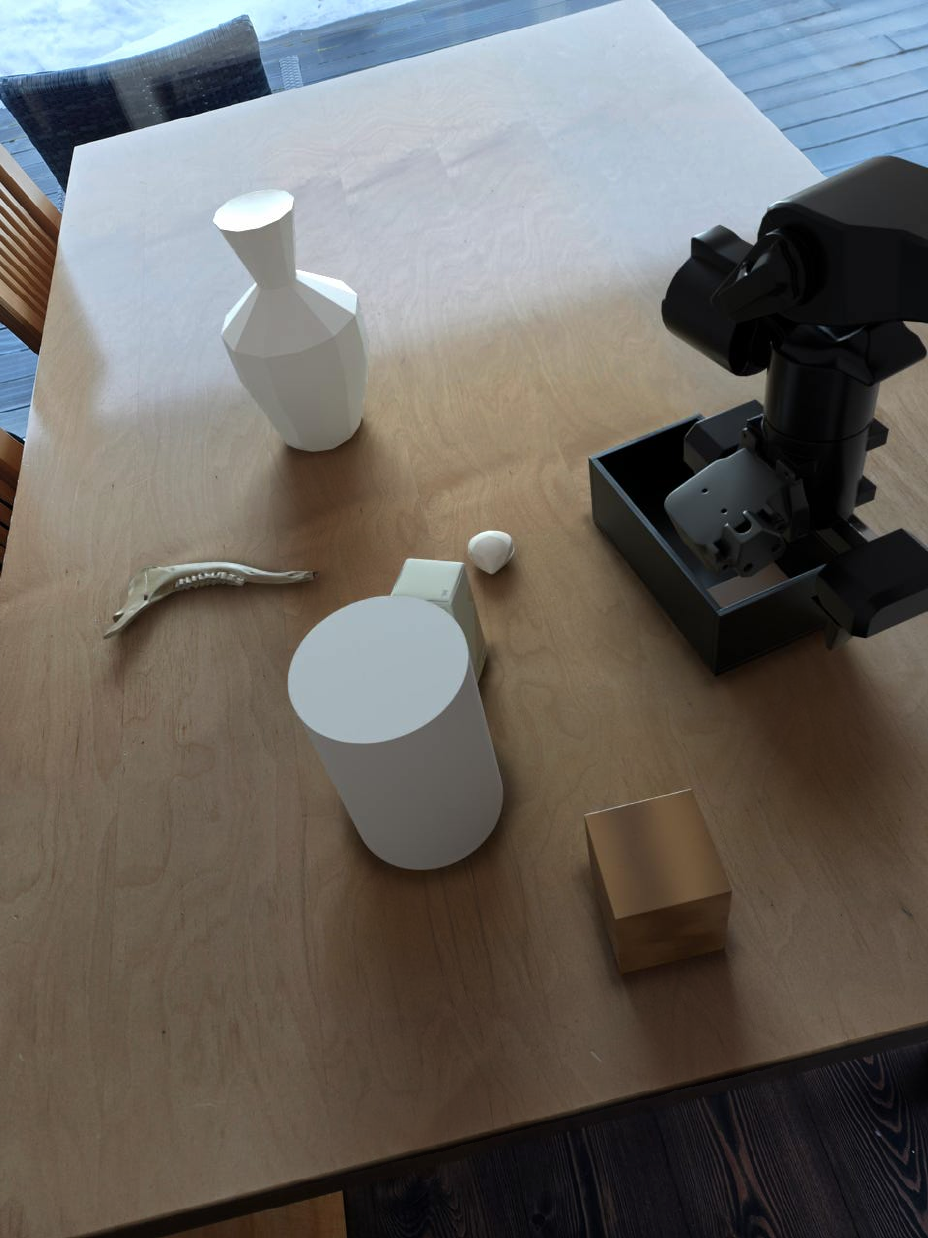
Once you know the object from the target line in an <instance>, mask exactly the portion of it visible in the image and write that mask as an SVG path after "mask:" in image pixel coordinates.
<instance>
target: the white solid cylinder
mask: <svg viewBox="0 0 928 1238" xmlns="http://www.w3.org/2000/svg"><path fill="white" fill-rule="evenodd" d="M287 690H288V696H289V700H290V703H291V706H292V707H293V708H294V712H295V713H296V715H297V717H298V719H299V721H300V722H301V723H300V724H302V727H303V728H304V730H305V732H306V734H307V736H308V738H309V740H310V742H311V744H312V746H313V747H314V750H315V751H316V753H317V755H318V757H319V759H320V761H321V763H322V765H323V767H324V769H325V771H326V772H327V775H328V776H329V778H330V780H331V782H332V784H333V787H334V788H335V790H336V792H337V794H338V796H339V797H340V799H341V801H342V803H343V805H344V807H345V809H346V811H347V813H348V815H349V817H350V819H351V820H352V823H353V824H354V826H355V828H356V830H357V832H358V834H359V836H360V839H361V840H362V841H363V843H364V844H365V845H366V847H367V848H368V849H369V850H370V851H371V852H372V853H373V854H374V855H375V856H376V857H378V858H379V859H380V860H383V862H386V863H387V864H390V865H393V866H394V867H395V866H396V867H397V868H402V869H407V870H413V871H415V870H416V871H425V870H434V869H439V868H440V869H441V868H443V867H447V866H450V865H452V864H455V863H457V862H460V861H461V860H462V859H465V858H466V857H467V856H469V855H471V854H472V853H473V852H475V851H476V850H477V849H478V848H479V847H480V846H481V845H482V844H484V842H485V841H486V840H487V839H488V837H489V836H490V835H491V833H492V832H493V830H494V829H495V827H496V826H497V823H498V820H499V818H500V816H501V812H502V808H503V803H504V788H503V782H502V778H501V774H500V769H499V766H498V761H497V757H496V754H495V750H494V745H493V741H492V737H491V734H490V730H489V726H488V722H487V717H486V714H485V710H484V706H483V701H482V698H481V694H480V690H479V686H478V683H477V682H476V678H475V674H474V670H473V666H472V662H471V658H470V654H469V650H468V646H467V642H466V639H465V636H464V633H463V631H462V629H461V628H460V626H459V625H458V623H457V622H456V621H455V620H454V618H453V617H452V616H451V615H450V614H448V613H447V612H446V611H445V610H443V609H442V608H440V607H438V606H437V605H435V604H433V603H430V602H428V601H425V600H422V599H419V598H414V597H408V596H390V595H380V596H373V597H370V598H365V599H361V600H358V601H355V602H353V603H350V604H347V605H346V606H344V607H341V608H339V609H337V610H336V611H334V612H332V613H330V614H329V615H327V616H326V617H325V618H324V619H322V620H321V621H319V622H318V623H317V624H316V625H315V626H314V627H313V628H312V629H311V630H310V631H309V632H308V633H307V635H306V636H305V637H304V638H303V640H302V641H300V644H299V645H298V647H297V649H296V650H295V652H294V655H293V657H292V659H291V661H290V665H289V669H288V675H287Z"/></svg>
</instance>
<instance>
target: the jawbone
mask: <svg viewBox="0 0 928 1238" xmlns="http://www.w3.org/2000/svg"><path fill="white" fill-rule="evenodd" d="M319 573H320V572H319V571H317V570H292V571H286V572H285V571H284V572H272V571H266V570H261V569H258V568H254V567H252V566H248V565H245V564H244V565H243V564H240V563H235V562H226V561H210V562H209V561H206V562H194V563H184V564H176V565H170V566H165V567H160V566H157V565H151V566H148V567H143V568H142V569H141V570H139V572H137V573H136V574H135V575H134V576H133V577H132V578H131V580H130V582H129V584H128V588H127V592H126V593H127V594H126V600H125V603H124V605H123V607H122V608H121V609H120V610H119V611H117V612H116V613H114V614H113V615H112V620H113V622H114V624H113V625H112V626H110V627H109V628H107V630H105V634H103V636H102V639H103V640H109V639H111V638H113V637H115V636H116V635H118V634H119V633H120V632H122V631H123V630H124V629H125V628H126V627H128V626H129V625H130V624H131V623H132V621H134V620H135V619H136V618H137V617H138V616H139V615H140V614H141V613H142V612H144V610H146V609H147V608H149V607H150V606H153V605H154V604H156V603H157V602H159V601H161V600H164V599H165V598H166V597H167V596H169V595H170V594H172V593H174V592H177V591H181V592H182V591H184V590H185V589H186V590H187V591H188V590H190V588H191V587H192V588H194V589H196V588H197V587H200V588H202V587H203V586H209V585H211V586H215V585H216V584H217V585H218V584H221V585H225V584H226V585H229V586H232V585H235V586H237V587H240V586H241V587H242V586H243V585H244V584H245V583H256V584H265V585H266V584H269V585H271V584H272V585H275V584H278V585H280V584H282V585H283V584H290V583H296V584H297V583H299V584H300V583H304V582H311V581H314V580H315V579H316V576H318V575H319Z"/></svg>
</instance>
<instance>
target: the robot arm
mask: <svg viewBox="0 0 928 1238" xmlns="http://www.w3.org/2000/svg"><path fill="white" fill-rule="evenodd" d="M660 305H661V306H660V307H661V308H660V313H661V318H662V323H663V324H664V327H665V329H666V330H667V331H668V332H669V333H670V334H671V335H673V336H674V337H675V338H677V339H679V340H680V341H682V342H683V343H685V344H686V345H688V346H689V347H691V348H692V349H694V350H695V351H697V352H699V353H700V354H702V355H703V356H704V357H706V358H707V359H710V360H711V361H712V362H714V363H715V364H717V365H718V366H720V367H721V368H722V369H724V370H726V371H727V372H729V373H730V374H732V375H734V376H736V377H751V376H754V375H757V374H760V373H762V372H763V371H765V370H766V376H765V384H764V385H765V386H764V387H765V388H764V397H763V400H764V401H763V402H761V401H760V400H758V399H756V398H755V399H752V400H749V401H747V402H744V403H742V404H740V405H737V406H735V407H732V408H729V409H726V410H724V411H722V412H719V413H716V414H715V415H712V416H709V417H707V418H706V419H704V420H702V421H699V422H697V423H695V424H694V426H693V427H692V428H691V429H690V431H689V432H688V433H687V435H686V436H685V438H684V461H685V462H686V463H687V464H688V465H689V466H690V467H691V468H692V469H693V470H694V474H695V476H694V477H692V478H691V479H690V480H688V481H687V482H686V483H684V484H683V485H681V486H680V487H679V488H677V489H676V490H674V491H673V492H672V493H670V494H669V495H668V497H667V498H666V500H665V504H664V507H665V510H666V512H667V514H668V516H669V518H670V519H671V521H672V523H673V525H674V527H675V528H676V530H677V532H678V534H679V536H680V538H681V539H682V541H683V542H684V543H685V544H686V545H687V546H688V547H689V548H690V549H691V551H692V552H693V553H694V554H695V555H696V556H697V558H698V559H699V560H700V561H701V562H702V564H703V565H704V566H705V568H706V569H707V570H708V571H710V572H712V573H715V574H724V573H727V572H728V571H731V570H734V571H736V572H737V573H738V574H739V575H740V576H741V577H742V578H746V577H752V576H753V575H755V574H756V573H758V572H759V571H761V570H762V569H764V568H765V567H766V566H768V565H769V564H771V563H772V562H774V561H775V560H777V559H778V558H779V557H781V556H782V554H783V552H784V550H785V547H786V546H785V543H784V540H783V538H782V536H783V537H784V538H785V539H786V540H787V541H788V542H792V541H794V540H796V539H799V538H801V537H803V536H806V535H807V534H808V533H809V531H811V532H812V533H813V534H814V535H815V536H816V537H817V538H818V539H819V540H820V541H821V542H822V543H823V544H824V545H825V546H826V547H827V548H829V549H830V550H831V551H832V552H833V553H834V554H835V555H836V556H834V557H833V558H832V559H831V560H830V561H829V562H828V563H827V564H826V565H825V566H824V567H823V568H822V569H821V571H820V572H819V573H818V574H817V577H816V583H815V589H816V592H817V595H815V596H813V597H811V599H812V600H813V601H814V603H815V604H816V605H817V606H818V607H819V608H820V609H821V610H822V611H823V612H824V613H825V614H826V615H827V618H826V628H825V629H824V630H825V632H824V640H825V648H826V649H827V651H829V652H832V651H835V650H837V649H839V648H841V647H843V646H844V645H846V644H847V643H848V642H849V641H850V640H851V639H853V638H854V637H855V638H861V639H865V640H867V639H869V638H870V637H873V636H875V635H878V634H879V633H882V632H884V631H886V630H889V629H891V628H893V627H895V626H898V625H900V624H902V623H905V622H907V621H909V620H912V619H914V618H916V617H919V616H920V615H923V614H925V613H928V546H927V545H926V544H924V543H923V541H921V540H920V539H919V538H918V537H917V536H916V535H914V534H913V533H912V532H910V531H908V530H906V529H905V528H903V527H900V528H898V529H895V530H892V531H891V532H888V533H886V534H884V535H881V536H879V535H878V533H876V532H875V531H874V530H873V529H872V528H871V527H869V526H868V525H867V524H866V522H864V521H863V520H862V519H861V518H859V517H858V516H857V515H856V514H855V513H854V510H855V509H857V508H858V507H861V506H863V505H866V504H868V503H870V502H872V501H874V500H875V498H876V493H877V489H878V486H877V485H876V484H875V483H873V482H872V481H871V480H870V479H868V478H867V477H866V476H865V475H864V470H865V464H866V459H867V455H868V452H870V451H872V450H875V449H878V448H880V447H882V446H885V445H887V441H888V436H889V431H890V428H888V427H887V426H886V425H884V424H883V423H882V422H881V421H880V420H878V419H877V418H875V411H876V407H877V401H878V398H879V397H878V396H879V391H880V387H881V383H882V382H884V381H886V380H887V379H890V378H891V377H893V376H895V375H897V374H899V373H901V372H902V371H904V370H907V369H909V368H910V367H912V366H914V365H916V364H918V363H920V362H922V361H923V360H925V359H926V358H927V356H928V350H927V347H926V345H925V344H924V342H923V341H922V339H921V337H920V336H919V335H918V334H917V333H915V332H914V331H913V330H911V329H910V328H909V327H908V326H907V325H906V323H905V322H907V323H923V324H927V325H928V166H924V165H921V164H919V163H916V162H913V161H910V160H907V159H904V158H902V157H898V156H894V155H890V154H889V155H880V156H873V157H871V158H869V159H867V160H865V161H862V162H860V163H859V164H857V165H854V166H851V167H850V168H848V169H845V170H843V171H841V172H839V173H837V174H835V175H833V176H830V177H828V178H826V179H824V180H822V181H820V182H817V183H814V184H813V185H811V186H808V187H806V188H804V189H802V190H800V191H798V192H795V193H793V194H792V195H789V196H787V197H785V198H783V199H780V200H777V201H776V202H774V203H772V204H770V205H769V206H767V208H766V212H765V213H764V215H763V217H762V218H761V221H760V225H759V228H758V231H757V235H756V242H755V243H754V244H752V243H750V242H748V241H746V240H744V239H743V238H742V237H740V236H739V235H738V234H737V233H736V232H735V231H733V230H732V229H730V228H728V227H726V226H723V225H722V224H718V225H716V226H713V227H710V228H709V229H707V230H704V231H702V232H700V233H698V234H696V235H694V236H692V237H691V238H690V255H689V256H688V257H687V258H686V259H685V260H684V261H683V262H682V264H681V265H680V266H679V268H678V269H677V270H676V272H675V273H674V275H673V277H672V278H671V280H670V283H669V285H668V287H667V289H666V292H665V296H664V297H663V298H662V300H661V304H660ZM781 535H782V536H781Z"/></svg>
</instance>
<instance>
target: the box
mask: <svg viewBox="0 0 928 1238" xmlns="http://www.w3.org/2000/svg"><path fill="white" fill-rule="evenodd" d="M389 596H408V597H414V598H419V599H422V600H425V601H428V602H430V603H433V604H435V605H437V606H438V607H440V608H442V609H443V610H445V611H446V612H447V613H448V614H450V615H451V616H452V617H453V618H454V620H455V621H456V622H457V623H458V625H459V626H460V628H461V629H462V631H463V633H464V636H465V639H466V642H467V646H468V650H469V654H470V658H471V662H472V666H473V670H474V674H475V678H476V682H477V684H478V683H479V681H480V678H481V675H482V672H483V669H484V666H485V662H486V659H487V655H488V652H489V651H488V646H487V643H486V639H485V635H484V631H483V627H482V624H481V620H480V616H479V612H478V609H477V604H476V601H475V598H474V594H473V589H472V586H471V582H470V579H469V574H468V572H467V568H466V564H465V562H459V561H458V562H457V561H447V560H437V559H436V560H435V559H420V558H407V559H406V560H405V562H404V564H403V566H402V568H401V571H400V572H399V575H398V577H397V579H396V581H395V584H394V585H393V588H392V591H391V593H390V595H389Z"/></svg>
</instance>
